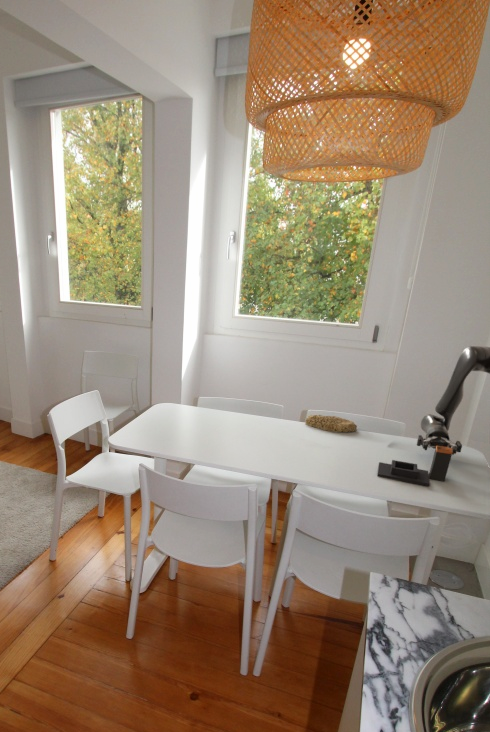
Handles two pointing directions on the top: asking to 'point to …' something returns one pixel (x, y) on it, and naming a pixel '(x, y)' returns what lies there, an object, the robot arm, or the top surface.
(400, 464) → the base pad
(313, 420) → the sponge
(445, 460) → the black and orange block
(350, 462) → the top surface
